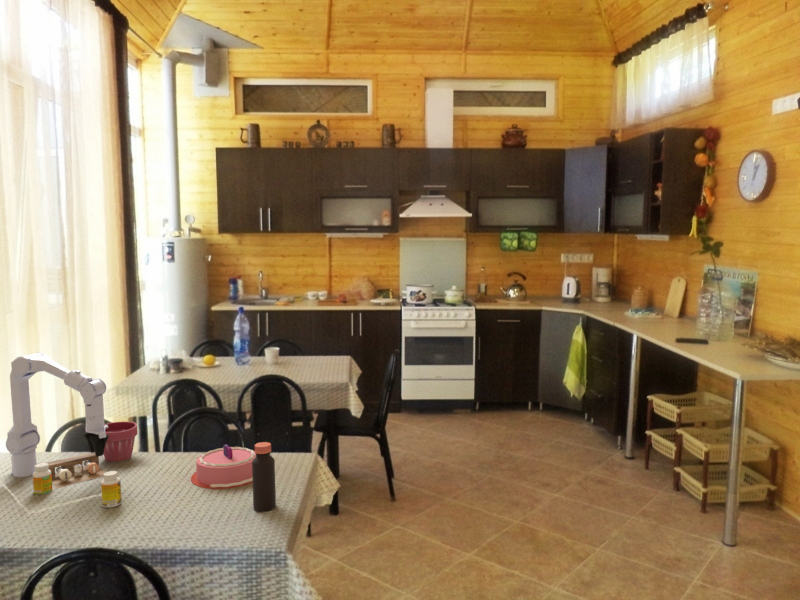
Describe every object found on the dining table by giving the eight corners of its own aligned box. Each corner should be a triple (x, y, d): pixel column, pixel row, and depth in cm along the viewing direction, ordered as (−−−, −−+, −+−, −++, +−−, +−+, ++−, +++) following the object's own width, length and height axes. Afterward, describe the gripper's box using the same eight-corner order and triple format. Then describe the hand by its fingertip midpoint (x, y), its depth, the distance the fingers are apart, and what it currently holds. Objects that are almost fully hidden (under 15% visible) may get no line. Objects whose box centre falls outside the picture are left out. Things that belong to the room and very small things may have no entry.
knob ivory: (53, 475, 220) (52, 465, 220) (64, 473, 223) (64, 463, 223) (60, 482, 214) (60, 472, 214) (72, 479, 217) (71, 469, 216)
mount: (43, 477, 222) (42, 462, 221) (94, 465, 234) (93, 451, 233) (57, 490, 210) (55, 474, 210) (110, 477, 222) (109, 461, 221)
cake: (275, 478, 220) (274, 449, 219) (203, 495, 205) (202, 464, 204) (249, 459, 240) (248, 431, 239) (182, 473, 226) (180, 444, 225)
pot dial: (73, 476, 220) (72, 465, 220) (81, 474, 222) (80, 463, 222) (75, 478, 219) (74, 466, 218) (83, 476, 220) (83, 465, 220)
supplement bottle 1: (44, 497, 205) (42, 468, 204) (29, 496, 206) (27, 467, 205) (56, 491, 210) (54, 462, 209) (42, 489, 211) (40, 461, 210)
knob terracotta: (81, 469, 227) (80, 459, 226) (91, 466, 229) (91, 457, 229) (89, 475, 220) (88, 465, 220) (99, 472, 223) (99, 462, 222)
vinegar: (256, 514, 190) (254, 449, 189) (251, 505, 196) (248, 443, 195) (278, 509, 194) (276, 445, 192) (272, 501, 200) (270, 439, 198)
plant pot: (138, 462, 237) (137, 429, 235) (97, 468, 231) (95, 433, 230) (138, 451, 250) (137, 419, 248) (99, 456, 244) (97, 423, 243)
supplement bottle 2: (122, 506, 197) (120, 474, 196) (102, 509, 195) (100, 477, 194) (121, 499, 202) (119, 468, 201) (102, 503, 200) (100, 471, 199)
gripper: (114, 417, 214) (116, 456, 216) (99, 409, 225) (101, 446, 226) (92, 421, 210) (94, 461, 211) (78, 413, 220) (80, 451, 221)
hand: (96, 453), depth 218 cm, fingers open, 5 cm apart
